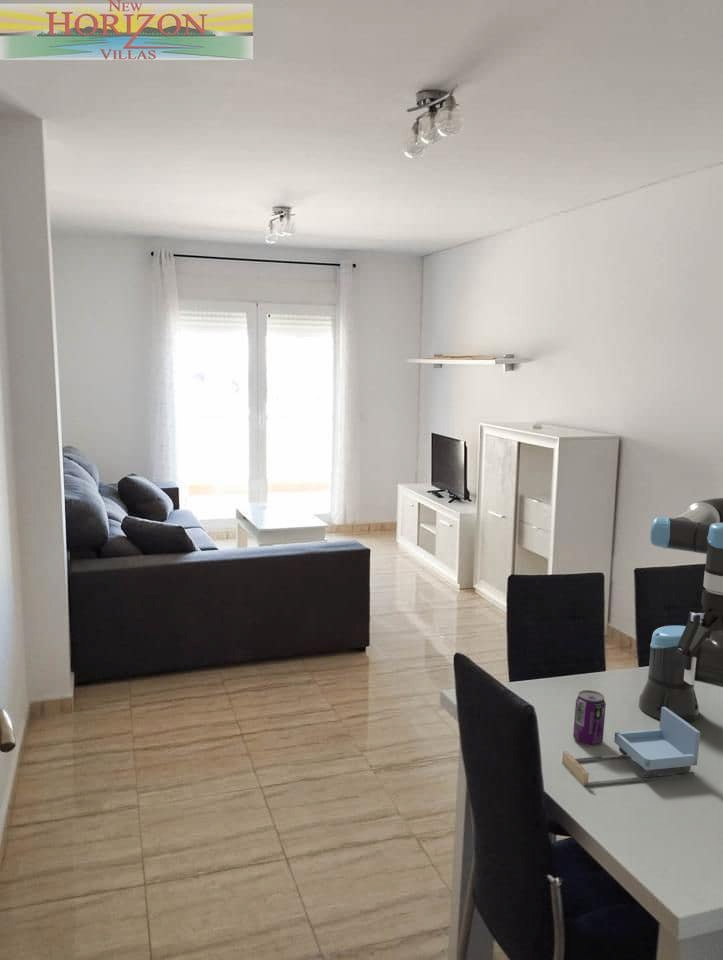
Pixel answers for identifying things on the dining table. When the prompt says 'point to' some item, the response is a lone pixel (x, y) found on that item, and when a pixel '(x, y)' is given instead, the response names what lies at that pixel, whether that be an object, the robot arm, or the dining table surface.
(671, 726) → the pale blue open box
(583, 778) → the track
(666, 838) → the dining table surface
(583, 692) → the beverage can
